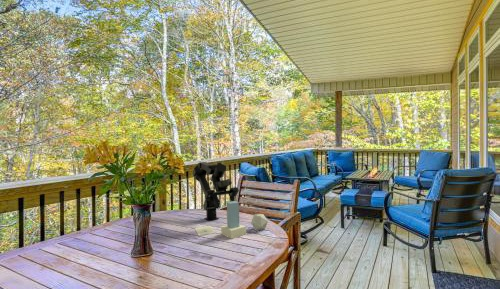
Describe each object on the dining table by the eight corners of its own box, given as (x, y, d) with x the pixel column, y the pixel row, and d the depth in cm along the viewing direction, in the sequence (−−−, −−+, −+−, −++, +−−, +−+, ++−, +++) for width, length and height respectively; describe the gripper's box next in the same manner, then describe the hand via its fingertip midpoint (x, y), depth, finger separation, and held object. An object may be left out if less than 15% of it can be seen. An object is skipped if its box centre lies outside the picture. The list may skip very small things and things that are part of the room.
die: (264, 233, 151) (272, 216, 154) (249, 226, 151) (257, 209, 154) (261, 234, 158) (268, 218, 162) (247, 227, 158) (254, 211, 162)
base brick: (221, 234, 150) (221, 226, 150) (235, 230, 156) (235, 222, 156) (231, 238, 143) (231, 230, 143) (245, 234, 149) (245, 226, 149)
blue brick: (227, 226, 150) (226, 202, 149) (236, 224, 152) (235, 200, 152) (230, 228, 146) (229, 203, 146) (239, 226, 149) (238, 202, 148)
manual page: (194, 228, 160) (194, 227, 160) (210, 226, 163) (210, 225, 163) (198, 235, 149) (198, 234, 149) (215, 233, 152) (215, 232, 152)
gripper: (206, 175, 156) (214, 200, 147) (237, 172, 165) (246, 195, 156) (201, 187, 163) (208, 211, 154) (231, 184, 172) (240, 207, 163)
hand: (226, 206), depth 157 cm, fingers open, 9 cm apart
